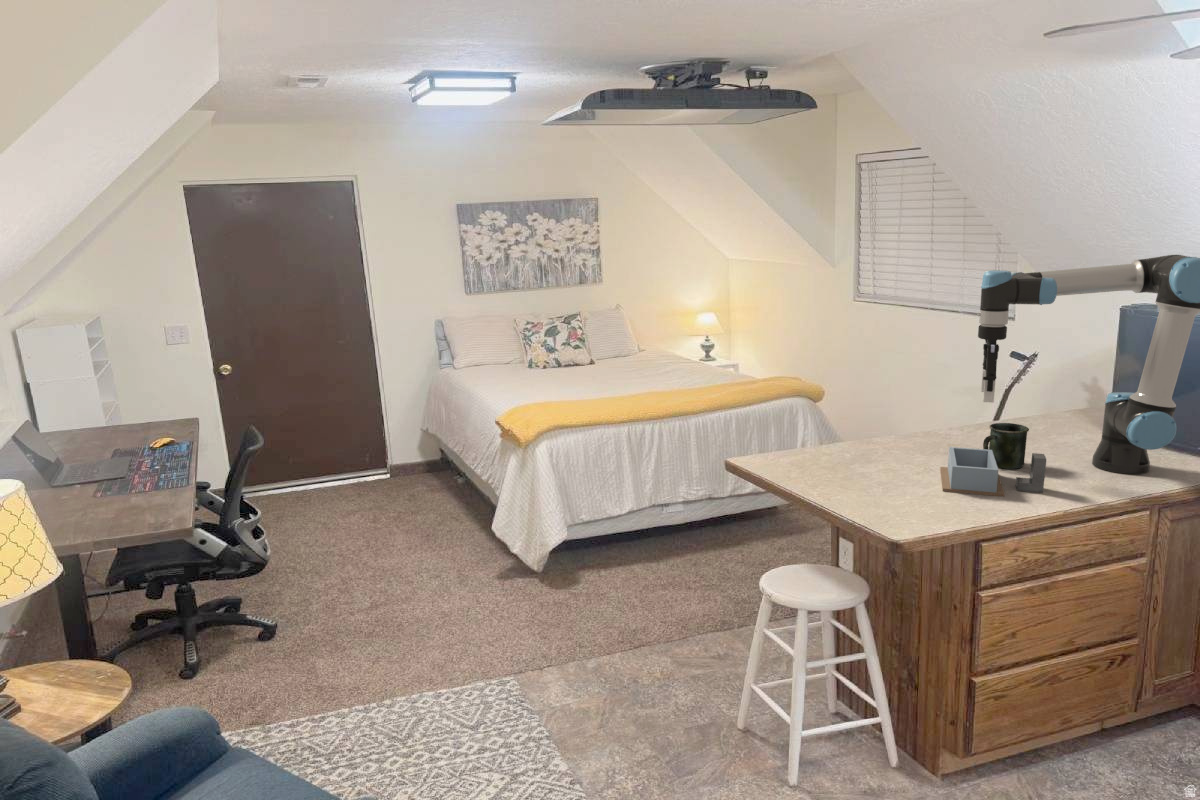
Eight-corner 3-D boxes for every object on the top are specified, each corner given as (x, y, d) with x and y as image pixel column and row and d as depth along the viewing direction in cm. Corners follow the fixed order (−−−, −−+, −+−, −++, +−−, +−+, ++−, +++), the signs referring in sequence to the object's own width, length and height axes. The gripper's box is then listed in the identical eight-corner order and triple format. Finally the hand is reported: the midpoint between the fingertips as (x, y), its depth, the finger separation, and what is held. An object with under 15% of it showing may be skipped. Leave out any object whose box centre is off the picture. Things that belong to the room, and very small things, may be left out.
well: (997, 473, 267) (999, 450, 266) (1004, 496, 248) (1006, 471, 246) (940, 469, 272) (942, 446, 271) (942, 491, 253) (944, 466, 251)
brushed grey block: (1040, 487, 255) (1043, 453, 253) (1042, 493, 250) (1046, 458, 248) (1015, 485, 257) (1018, 452, 255) (1017, 491, 252) (1020, 457, 250)
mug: (1033, 467, 273) (1037, 429, 270) (995, 473, 268) (999, 434, 265) (1006, 457, 283) (1010, 421, 280) (969, 463, 278) (972, 426, 275)
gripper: (977, 318, 269) (971, 387, 274) (980, 331, 247) (975, 405, 252) (1004, 319, 267) (998, 388, 272) (1010, 331, 244) (1004, 407, 249)
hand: (987, 397), depth 262 cm, fingers open, 13 cm apart
